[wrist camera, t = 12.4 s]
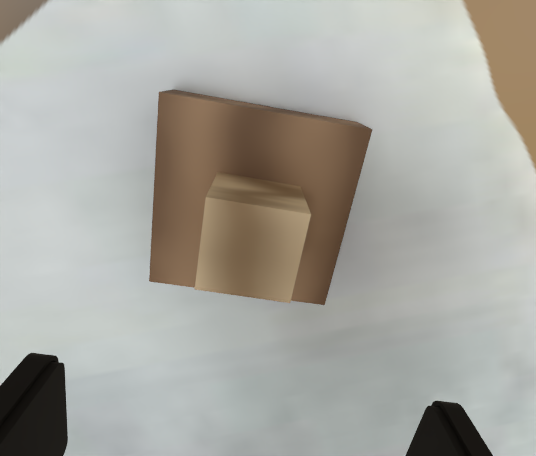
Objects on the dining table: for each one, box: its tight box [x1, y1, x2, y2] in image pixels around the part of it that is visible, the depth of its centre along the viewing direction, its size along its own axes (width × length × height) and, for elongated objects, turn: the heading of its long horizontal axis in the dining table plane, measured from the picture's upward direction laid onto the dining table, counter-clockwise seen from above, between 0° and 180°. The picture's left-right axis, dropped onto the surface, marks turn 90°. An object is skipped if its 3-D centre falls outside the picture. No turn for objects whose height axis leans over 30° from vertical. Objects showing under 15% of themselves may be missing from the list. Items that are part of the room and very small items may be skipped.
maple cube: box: [195, 172, 311, 303], centre depth 20 cm, size 5×5×5 cm
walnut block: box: [149, 90, 372, 305], centre depth 24 cm, size 12×12×4 cm
